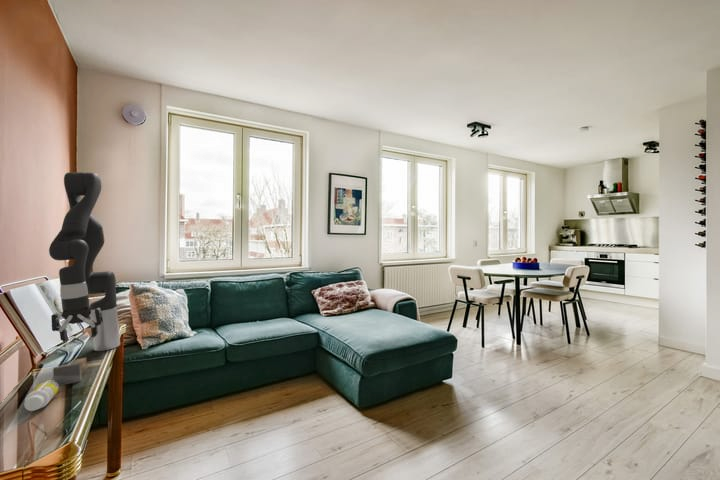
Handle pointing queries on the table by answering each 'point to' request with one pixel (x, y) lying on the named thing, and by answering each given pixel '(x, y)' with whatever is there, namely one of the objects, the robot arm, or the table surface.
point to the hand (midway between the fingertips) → (79, 338)
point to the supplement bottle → (41, 395)
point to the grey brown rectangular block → (70, 372)
